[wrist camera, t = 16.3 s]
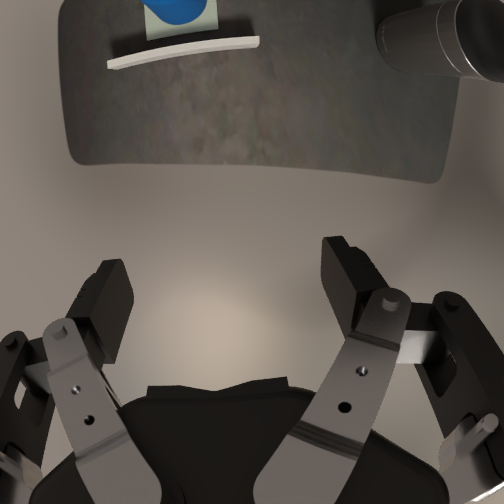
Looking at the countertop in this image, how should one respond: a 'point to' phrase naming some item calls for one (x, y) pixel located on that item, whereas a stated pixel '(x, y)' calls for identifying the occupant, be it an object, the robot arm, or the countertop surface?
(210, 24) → the mat
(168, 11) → the beverage can
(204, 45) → the low wall
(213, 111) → the countertop surface
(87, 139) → the countertop surface
